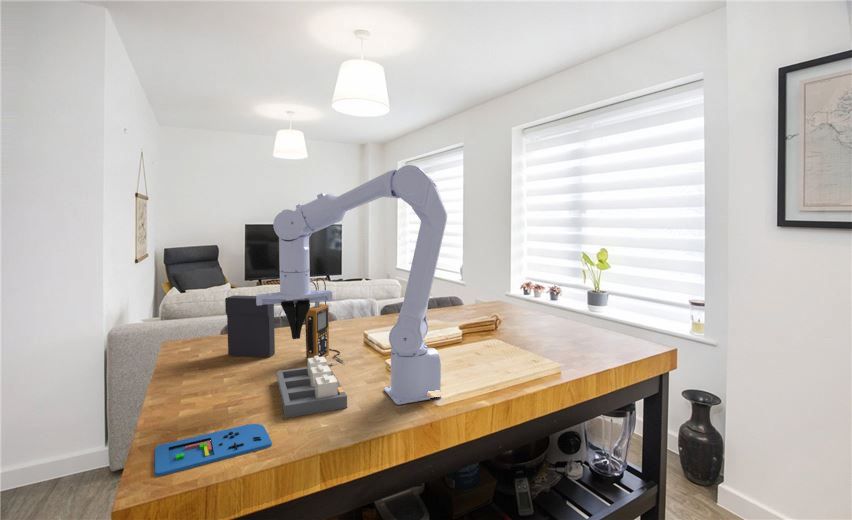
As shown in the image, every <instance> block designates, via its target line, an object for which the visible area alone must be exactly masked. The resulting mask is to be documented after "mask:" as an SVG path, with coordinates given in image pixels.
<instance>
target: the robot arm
mask: <svg viewBox="0 0 852 520" xmlns="http://www.w3.org/2000/svg"><path fill="white" fill-rule="evenodd" d="M381 198H390V199H401V200H403V202H405V203H407V205H409V206H410V207H411V209H412V210H413V211H414V214H416V217H418V218H419V220H420V224H419V229H418V235H417V239H416V244H415V248H414V252H413V256H412V262H411V267H410V271H409V276H408V279H407V285H406V289H405V293H404V299H403V302H402V305H401V308H400V311H399V312H398V313H399V314H398V317H397V320H396V323H395V324H394V325H393V326H392V328H391V329H390V332H389V335H388V341H389V342H388V343H389V345H390V385H389V386H385V387H384V388H383V390H384V391H385V393H386V394H387V395H388V397H389V398H390V399H391V400H392V401H393V403H394V404H396V405H406V404H411V403H416V402H421V401H427V400H431V399H430V397H429V396H427V392H428V391H435V390H440V391H441V385H442V384H441V377H442V373H441V370H442V369H441V368H442V364H441V358H440V354H439V351H437V349H436V348H435V347H428V346H427V344H426V342H425V341H424V339H425V337H426V336H427V334H428V332H429V331H428V330H429V325H428V321H427V320H428V319H427V314H428V308H429V307H428V306H429V300H430V295H431V291H432V286H433V282H434V278H435V274H436V269H437V266H438V261H439V256H440V252H441V247H442V244H443V243H442V242H443V239H444V234H445V229H446V225H447V221H448V220H447V219H448V213H447V210H446V207H445V204H444V202H443V200H442V197H441V194H440V192H439V189H438V186H437V184H436V183H435V182H434V180H433V179H432V178H431V177H430V176H429V175H428V174H427V173H426V172H425V171H424V170H422V168H420V167H418V166H416V165H413V164H407V165H403V166H401V167H400V168H398V169H393V170H388V171H387V172H384V173H383V174H380V175H379V176H376V177H374V178H372V179H371V180H368V181H367V182H364V183H362V184H360V185H358V186H357V187H354V188H353V189H350V190H349V191H346V192H344V193H342V194H341V195H335V194H332V193H327V194H326V193H323V192H320V193H319V194H317V195H316V199H314V200H312V201H309V202H307V203H305V204H302V203H299V204H296V205H295V209H294V210H292V209H283V210H281V212H279V213H278V214H276V216H275V218H274V219H273V230H274V233H275V234H276V236H277V237H278V245H279V246H278V251H279V253H278V255H279V256H278V257H279V260H278V261H279V262H278V263H279V291H277V292H267V293H257V294H256V295H255V296H256V305H257V306H258V305H263V304H274V305H275V304H280V307H282V308H281V309H282V310H283V312H284V315H285V316H286V318H287V321H288V324H289V328H290V333H291V339H292V340H298V339H301V334H302V328H303V326H304V325H303V324H304V322H305V317H306V315H307V313H308V311H309V309H310V308H311V303H310V302H315V301H320V302H322V301H324V302H325V301H326V302H331V301H333V291H332V290H330V289H329V290H325V289H324V290H319V291H318V290H317V291H316V290H311V285H310V284H311V282H310V281H311V276H310V275H311V274H310V272H311V271H310V269H311V268H310V267H311V266H310V237H311V236H312V235H313V233H316V232H319V231H321V230H324V229H325V228H328V227H329V226H333V225H335V224H337V223H340V222H342V221H343V219H344V217H345V215H346V213H347V212H348V211H351V210H353V209H355V208H356V209H357V208H358V207H360V206H364V205H365V204H368V203H371V202H374V201H376V200H379V199H381Z"/></svg>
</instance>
